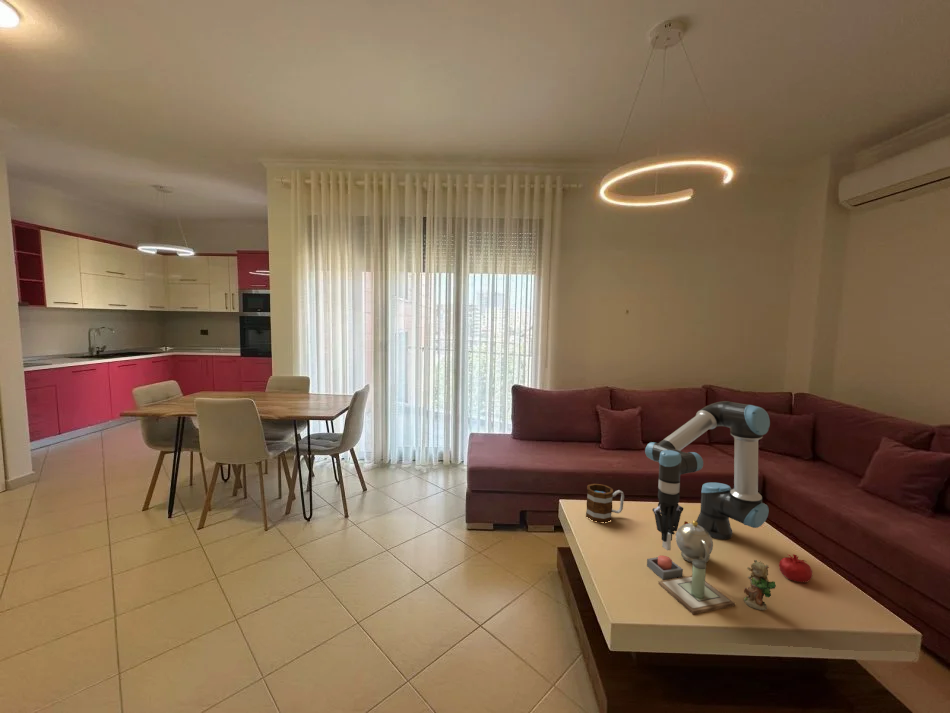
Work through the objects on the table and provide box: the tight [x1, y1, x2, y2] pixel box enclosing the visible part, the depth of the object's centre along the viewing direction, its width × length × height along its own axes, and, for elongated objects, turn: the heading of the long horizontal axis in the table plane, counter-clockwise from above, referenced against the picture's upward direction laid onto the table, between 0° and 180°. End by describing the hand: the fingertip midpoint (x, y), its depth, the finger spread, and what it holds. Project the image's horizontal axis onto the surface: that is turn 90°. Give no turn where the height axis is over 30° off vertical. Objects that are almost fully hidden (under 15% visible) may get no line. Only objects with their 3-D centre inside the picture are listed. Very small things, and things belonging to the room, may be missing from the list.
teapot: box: [675, 520, 714, 564], centre depth 158 cm, size 18×14×16 cm
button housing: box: [646, 556, 684, 581], centre depth 151 cm, size 9×9×3 cm
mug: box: [585, 483, 625, 523], centre depth 195 cm, size 20×14×15 cm
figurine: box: [743, 559, 776, 611], centre depth 132 cm, size 9×8×15 cm
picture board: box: [657, 575, 736, 615], centre depth 138 cm, size 18×16×1 cm
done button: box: [657, 555, 673, 570], centre depth 151 cm, size 5×5×4 cm
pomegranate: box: [778, 553, 813, 583], centre depth 149 cm, size 10×10×9 cm
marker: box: [691, 559, 707, 599], centre depth 135 cm, size 4×4×12 cm
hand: (666, 548), depth 151 cm, fingers closed
